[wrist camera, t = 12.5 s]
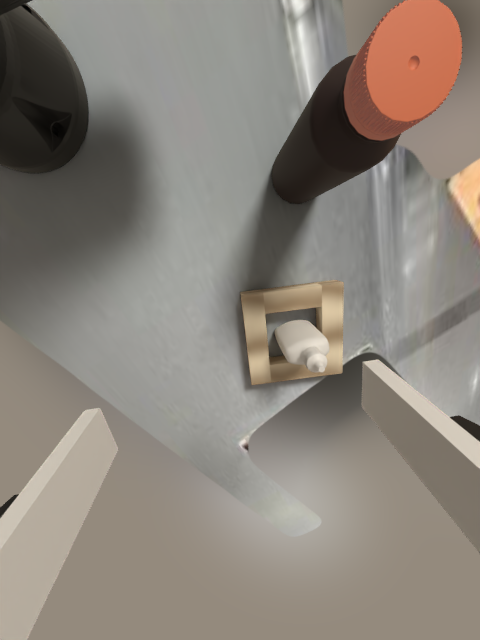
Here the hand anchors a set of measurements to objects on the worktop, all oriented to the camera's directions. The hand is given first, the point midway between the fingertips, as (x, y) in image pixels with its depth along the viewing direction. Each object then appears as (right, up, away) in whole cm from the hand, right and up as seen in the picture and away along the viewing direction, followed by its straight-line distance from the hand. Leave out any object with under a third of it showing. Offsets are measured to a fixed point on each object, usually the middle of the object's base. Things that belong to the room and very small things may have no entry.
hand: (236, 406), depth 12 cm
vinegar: (+7, +23, +19) cm, 30 cm away
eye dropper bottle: (+8, +3, +25) cm, 27 cm away
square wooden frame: (+8, +3, +25) cm, 26 cm away
